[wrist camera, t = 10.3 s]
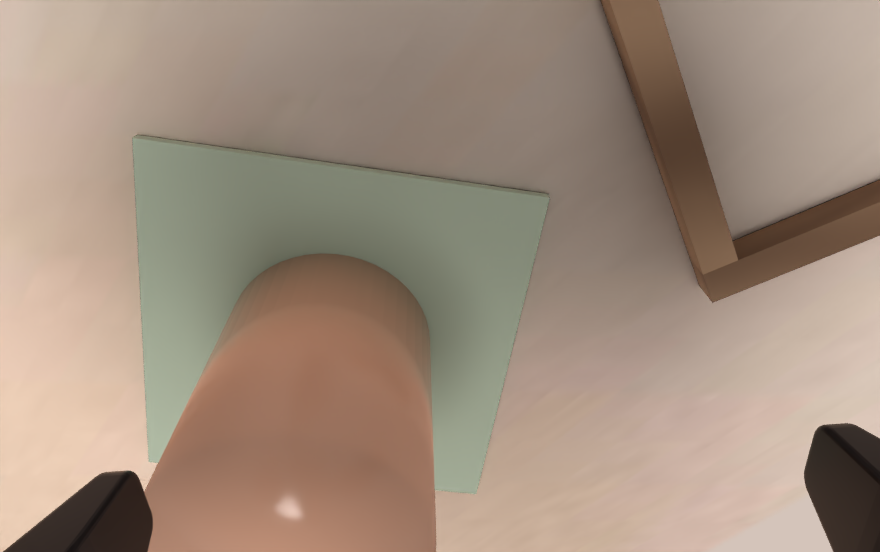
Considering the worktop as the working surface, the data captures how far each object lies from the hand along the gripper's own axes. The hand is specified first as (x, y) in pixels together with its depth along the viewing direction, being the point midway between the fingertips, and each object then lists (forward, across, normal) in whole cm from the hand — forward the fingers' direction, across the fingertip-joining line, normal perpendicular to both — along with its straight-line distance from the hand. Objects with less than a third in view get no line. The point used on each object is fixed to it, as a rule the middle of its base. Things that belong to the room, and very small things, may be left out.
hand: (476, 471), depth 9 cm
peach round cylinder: (+10, +4, +5) cm, 12 cm away
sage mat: (+11, +4, +5) cm, 12 cm away
